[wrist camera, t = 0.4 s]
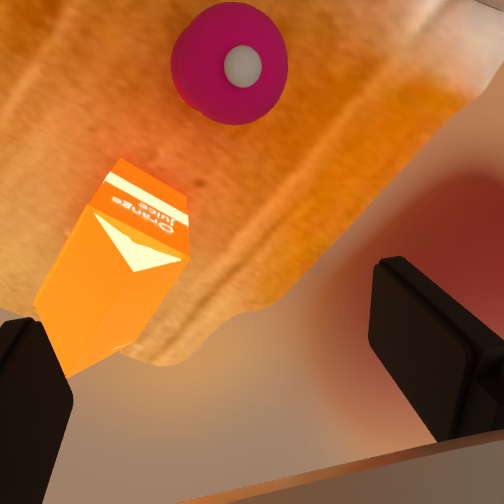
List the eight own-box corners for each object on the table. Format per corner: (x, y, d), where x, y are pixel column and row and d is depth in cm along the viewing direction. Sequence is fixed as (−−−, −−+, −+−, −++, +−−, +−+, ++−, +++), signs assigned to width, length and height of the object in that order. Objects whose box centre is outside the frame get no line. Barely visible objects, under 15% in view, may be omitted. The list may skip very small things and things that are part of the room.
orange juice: (80, 227, 38) (-5, 359, 21) (119, 156, 36) (61, 236, 18) (147, 260, 41) (124, 400, 24) (188, 196, 39) (196, 299, 21)
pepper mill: (243, 115, 36) (304, 157, 19) (169, 104, 35) (159, 138, 17) (254, 33, 33) (339, -12, 16) (174, 16, 32) (168, -54, 14)
